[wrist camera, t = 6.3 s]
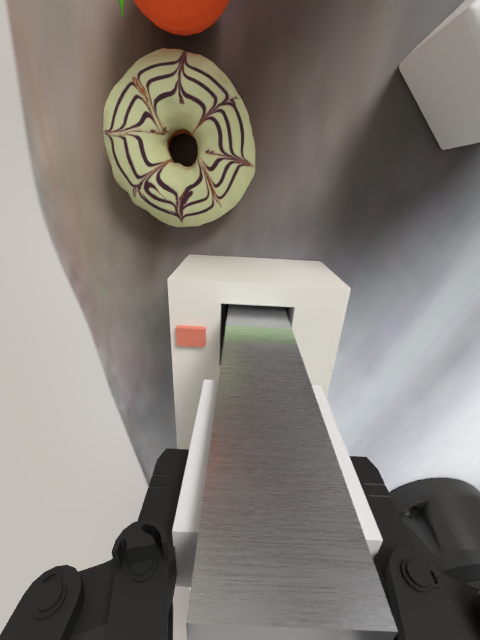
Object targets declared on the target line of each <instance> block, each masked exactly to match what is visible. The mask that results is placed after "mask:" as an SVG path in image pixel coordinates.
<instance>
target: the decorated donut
mask: <svg viewBox="0 0 480 640" xmlns="http://www.w3.org/2000/svg"><path fill="white" fill-rule="evenodd" d="M103 124H104V127H103V135H104V143H105V147H106V151H107V155H108V158H109V160H110V163H111V166H112V171H113V176H114V178H115V180H116V181H117V183H118V184H119V185H120V187H122V188H123V189H124V190H126V191H127V192H128V193H129V195H130V197H131V200H132V202H133V203H134V204H136V205H137V206H139V207H141V208H143V209H145V210H147V211H148V212H149V213H150V214H151V215H153V216H154V217H156V218H157V219H158V220H160V221H162V222H164V223H166V224H168V225H171V226H175V227H190V226H200V225H202V224H205V223H208V222H211V221H214V220H216V219H218V218H220V217H221V216H222V215H224V214H225V213H226V212H228V211H229V210H231V209H232V208H233V207H234V206H235V205H236V204H237V203H238V202H239V201H240V199H241V198H242V196H243V195H244V193H245V190H246V189H247V187H248V186H249V184H250V182H251V180H252V179H253V177H254V174H255V143H254V137H253V134H252V127H251V124H250V120H249V114H248V112H247V110H246V107H245V105H244V102H243V101H242V99H241V97H240V96H239V94H238V93H237V91H236V89H235V87H234V86H233V84H232V83H231V81H230V80H229V78H228V77H227V76H226V74H225V73H224V72H222V71H221V70H220V69H219V68H218V67H217V66H216V65H215V64H214V63H213V62H212V61H210V60H209V59H207V58H205V57H203V56H202V55H200V54H193V53H190V52H187V51H184V50H181V49H166V48H161V49H160V50H156V51H154V52H152V53H150V54H148V55H146V56H144V57H142V58H140V59H139V60H137V61H136V62H135V63H134V65H133V66H132V67H131V68H130V69H129V70H128V71H127V73H126V74H125V75H124V76H123V78H122V79H121V80H120V81H119V82H118V83H117V84H116V85H115V86H114V88H113V89H112V91H111V92H110V95H109V97H108V99H107V102H106V104H105V107H104V116H103ZM183 133H186V134H187V135H190V136H193V137H194V138H195V139H196V142H197V145H198V155H197V159H196V161H195V163H194V164H193V165H192V166H190V167H185V166H183V165H182V164H180V163H175V162H174V160H173V159H172V157H171V154H170V151H169V145H170V141H171V140H172V137H174V136H175V135H179V134H183Z"/></svg>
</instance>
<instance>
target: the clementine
mask: <svg viewBox="0 0 480 640" xmlns="http://www.w3.org/2000/svg"><path fill="white" fill-rule="evenodd" d="M133 1H134V2H135V4H136V5H137V6H138V8H139V9H140V10H141V11H142V13H143V14H144V15H145V16H146V17H147V18H148V19H149V20H151V21H152V22H153V23H154V24H155V25H156V26H157V27H159V28H161V29H163V30H165V31H167V32H169V33H171V34H176V35H184V36H188V35H192V34H196V33H200V32H202V31H204V30H205V29H207V28H208V27H210V26H211V25H213V24H214V23H215V22H216V20H217V19H218V18H219V17H220V16H221V15H222V13H223V12H224V10H225V8H226V6H227V4H228V2H229V1H230V0H133ZM123 2H124V0H119V4H120V8H121V12H122V17H123Z"/></svg>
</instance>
